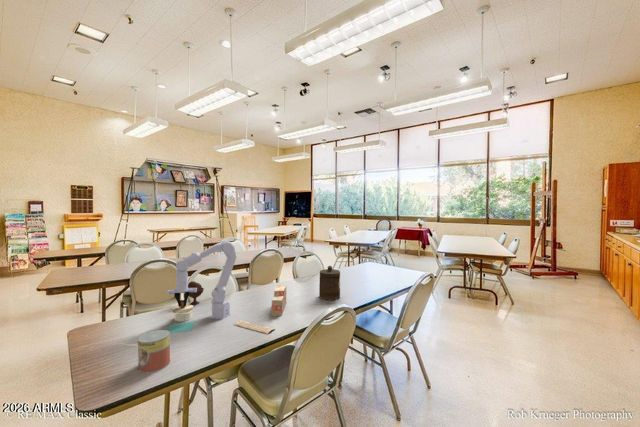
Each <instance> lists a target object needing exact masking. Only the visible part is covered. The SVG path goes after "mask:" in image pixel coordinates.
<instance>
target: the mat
mask: <svg viewBox="0 0 640 427" xmlns="http://www.w3.org/2000/svg"><path fill="white" fill-rule="evenodd" d="M194 325H195V321H188V322H187V321H185V322H180V323H171V324H169V326H168V329H166V330H167V331H169V332H170V334H175V333H182V332H183V333H186V332H192V330H193V328H194Z"/></svg>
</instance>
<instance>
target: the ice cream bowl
mask: <svg viewBox="0 0 640 427" xmlns="http://www.w3.org/2000/svg"><path fill="white" fill-rule="evenodd" d="M188 288H197V292H190V294H189V296H188V298H192V299H193V301H192V302H190V305H193V306H196V305H199V304H200V302H199V301H198V300H197V298H199V297H200V296H201V295H202V294H203V292H204V290H205V288H204V287H202V284H200V282H199V283H198V282H196V281H189V282H188Z"/></svg>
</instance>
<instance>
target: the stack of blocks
mask: <svg viewBox="0 0 640 427" xmlns="http://www.w3.org/2000/svg"><path fill="white" fill-rule="evenodd" d="M273 292H274V293H273V297H272V299H271V316H275V317H277V316H280V317H282V315H283V313H284V311H285V308H286V306H287V285H276V286H275V288H274V290H273Z"/></svg>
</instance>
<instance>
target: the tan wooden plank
mask: <svg viewBox="0 0 640 427" xmlns="http://www.w3.org/2000/svg"><path fill="white" fill-rule="evenodd" d="M233 326H236V327H239V328H244V329H246V330H250V331H254V332H257V333H260V334H261V333H262V334H265V335H268V334H269V333H270V332H271V331H275V330H276V328H272V327H270V326H269V327H268V326H265V325H260V324H256V323H253V322H249V321H245V320H237V321H236V322H234V323H233Z"/></svg>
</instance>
